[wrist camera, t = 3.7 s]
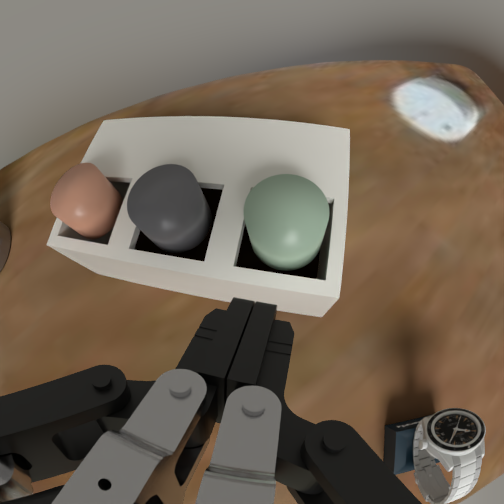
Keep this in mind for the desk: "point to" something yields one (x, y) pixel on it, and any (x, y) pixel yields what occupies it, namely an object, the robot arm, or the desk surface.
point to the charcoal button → (170, 208)
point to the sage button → (286, 221)
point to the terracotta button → (86, 201)
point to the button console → (230, 206)
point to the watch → (438, 452)
